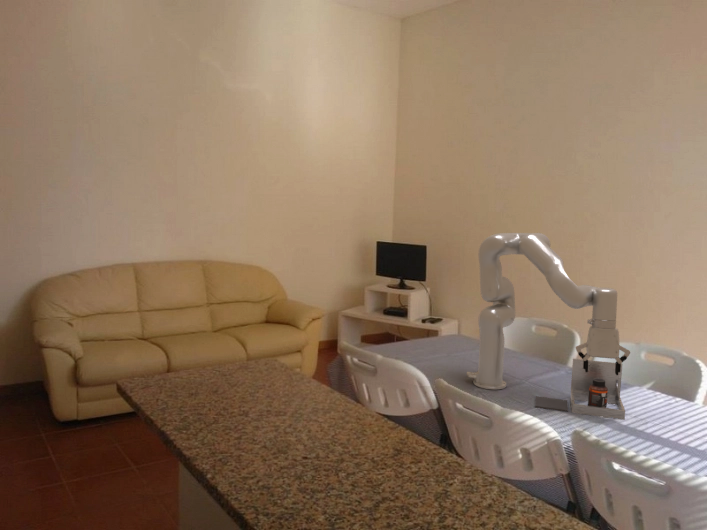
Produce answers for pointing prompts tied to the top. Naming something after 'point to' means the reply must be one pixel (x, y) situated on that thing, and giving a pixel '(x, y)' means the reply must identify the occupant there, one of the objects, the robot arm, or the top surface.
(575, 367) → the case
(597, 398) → the supplement bottle
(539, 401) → the mat
